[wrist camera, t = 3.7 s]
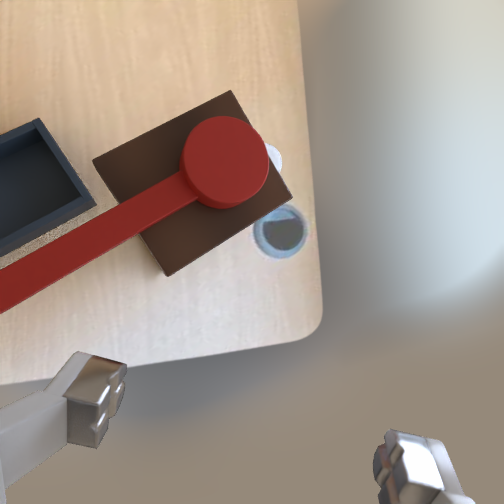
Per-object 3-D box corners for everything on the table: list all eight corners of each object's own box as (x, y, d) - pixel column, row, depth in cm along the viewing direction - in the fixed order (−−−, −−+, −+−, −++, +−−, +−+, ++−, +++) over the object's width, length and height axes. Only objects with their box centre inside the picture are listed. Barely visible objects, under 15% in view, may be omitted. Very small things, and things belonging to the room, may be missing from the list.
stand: (157, 276, 44) (178, 293, 19) (115, 212, 43) (79, 142, 18) (225, 233, 47) (321, 199, 22) (187, 172, 46) (243, 61, 21)
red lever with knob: (-9, 355, 17) (-28, 367, 15) (-69, 275, 16) (-97, 276, 14) (271, 184, 21) (284, 176, 19) (231, 116, 20) (240, 100, 19)
